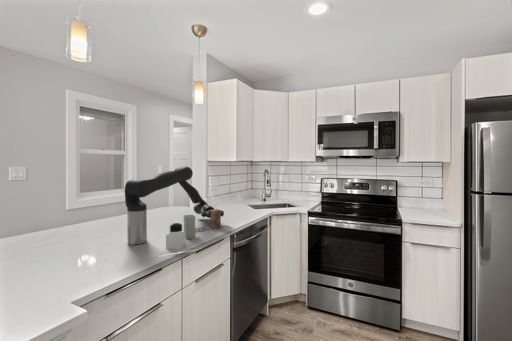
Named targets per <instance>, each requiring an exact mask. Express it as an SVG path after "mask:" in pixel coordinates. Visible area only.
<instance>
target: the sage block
mask: <svg viewBox="0 0 512 341" xmlns="http://www.w3.org/2000/svg"><path fill="white" fill-rule="evenodd" d="M195 228H196V215H194V214H186V215H183V232H185V238H186V239H190V238H195V234H196V233H195Z"/></svg>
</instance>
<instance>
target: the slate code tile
mask: <svg viewBox="0 0 512 341" xmlns="http://www.w3.org/2000/svg"><path fill="white" fill-rule="evenodd" d="M204 232H210V231H209V229H207V228H206V227H205V226H204V227H202V226H201V227H195V234H198V233H204Z"/></svg>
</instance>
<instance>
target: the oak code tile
mask: <svg viewBox="0 0 512 341" xmlns="http://www.w3.org/2000/svg"><path fill="white" fill-rule="evenodd" d="M199 239H200V240H201V237H200V236H199V235H198V233H195V238H190V239H186V238H185V242H186V241H192V240H199Z"/></svg>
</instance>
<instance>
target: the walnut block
mask: <svg viewBox="0 0 512 341" xmlns="http://www.w3.org/2000/svg"><path fill="white" fill-rule="evenodd" d="M221 210H222V209H218V208H216V209H215V208H214V210H211V218H210V228H211V229H212V230H218V229H219V230H220V229H221V223H222V222H221V220H222V218H221V217H222V216H221Z"/></svg>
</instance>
